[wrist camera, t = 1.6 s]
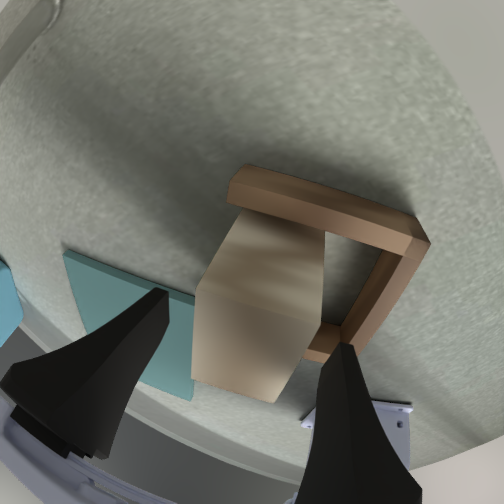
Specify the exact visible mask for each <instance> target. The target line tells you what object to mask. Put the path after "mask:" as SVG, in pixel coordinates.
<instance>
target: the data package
mask: <svg viewBox="0 0 504 504" xmlns="http://www.w3.org/2000/svg"><path fill="white" fill-rule="evenodd" d="M22 319H23V309H22V307H21V304H20V301H19V297H18V294H17V291H16V288H15V284H14V281H13V277H12V274H11V270H10V269H9V268H8V267H7V266H6V265H5V264H4V263H3V262H2V261H1V260H0V347H1V346H2V345H3V343H4V342H5V341H6V340H7V339H8V337H9V336H10V335H11V334H12V332H13V331H14V330H15V329H16V328H17V326H18V325H19V324H20V323H21V321H22Z"/></svg>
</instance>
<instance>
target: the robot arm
mask: <svg viewBox="0 0 504 504" xmlns="http://www.w3.org/2000/svg"><path fill="white" fill-rule="evenodd" d="M169 323H170V316H169V291H166V290H164V289H161V288H158V287H154V288H153V289H152V290H150V291H149V292H148V293H147V294H145V295H144V296H143V297H141V298H140V299H139V300H138V301H136V302H135V303H134V304H132V305H131V306H130V307H128V308H127V309H126V310H124V311H123V312H121V313H120V314H119V315H117V316H116V317H115V318H113V319H112V320H110V321H109V322H107V323H106V324H104V325H103V326H101V327H99V328H98V329H96V330H95V331H93V332H91V333H90V334H88V335H86V336H84V337H82V338H81V339H79V340H77V341H75V342H73V343H71V344H69V345H67V346H64V347H62V348H60V349H58V350H55V351H52V352H50V353H47V354H45V355H42V356H39V357H36V358H33V359H29V360H26V361H22V362H18V363H14V364H13V365H12V366H11V367H10V369H9V370H8V372H7V373H6V374H5V376H4V377H3V379H2V380H1V382H0V388H1V389H2V390H3V391H4V392H5V393H6V394H7V395H8V396H9V397H10V398H11V399H12V400H13V401H14V402H15V403H16V404H17V405H16V407H15V408H14V407H12V406H11V405H10V404H9V403H8V402H7V401H6V400H5V399H4V398H3V397H2V396H1V395H0V460H1V461H2V462H3V463H4V465H5V466H6V467H7V468H8V469H9V470H10V471H11V472H12V473H13V474H14V475H15V476H16V477H17V478H18V479H19V481H21V482H22V483H23V484H24V485H25V486H26V487H27V488H28V489H29V490H30V491H31V492H32V493H33V494H34V495H35V496H36V497H38V498H39V499H40V500H41V501H42V502H43V503H44V504H128V502H126V501H125V500H123V499H121V498H119V497H117V496H115V495H113V494H111V493H110V492H107V491H105V490H103V489H101V488H99V487H96V486H95V484H94V481H96V482H97V483H99V484H101V485H103V486H105V487H107V488H108V489H110V490H112V491H114V492H116V493H119V494H120V495H122V496H124V497H127V498H129V499H131V500H133V501H135V502H138V503H140V504H178V503H175V502H172V501H169V500H167V499H164V498H161V497H159V496H156V495H154V494H151V493H149V492H146V491H144V490H142V489H140V488H137V487H135V486H133V485H131V484H129V483H126V482H124V481H122V480H120V479H118V478H116V477H114V476H112V475H110V474H108V473H107V472H105V471H103V470H101V469H99V468H97V467H96V466H94V465H92V464H90V463H89V462H87V461H85V460H84V459H83V458H84V456H85V455H86V456H87V457H89V458H92V457H93V455H94V456H95V457H97V458H99V459H101V460H102V459H106V458H108V457H109V454H110V450H111V446H112V444H113V440H114V437H115V434H116V431H117V429H118V426H119V423H120V420H121V418H122V415H123V413H124V410H125V408H126V405H127V403H128V401H129V398H130V396H131V394H132V392H133V389H134V387H135V385H136V384H137V382H138V380H139V378H140V377H141V375H142V373H143V372H144V370H145V368H146V367H147V365H148V363H149V362H150V360H151V358H152V357H153V355H154V353H155V352H156V350H157V348H158V347H159V345H160V343H161V341H162V339H163V337H164V335H165V332H166V330H167V328H168V325H169ZM412 410H413V406H412V405H403V404H395V403H387V402H379V401H372V400H371V398H370V395H369V392H368V389H367V387H366V384H365V381H364V378H363V375H362V371H361V368H360V365H359V362H358V358H357V355H356V352H355V348H354V346H353V345H352V344H347V343H343V342H339V343H338V345H337V346H336V348H335V349H334V351H333V352H332V354H331V355H330V356H329V358H328V359H327V361H326V362H325V364H324V365H323V366H322V368H321V373H320V378H319V383H318V389H317V400H316V407H315V408H314V409H313V410H312V412H311V413H310V414H309V415H308V416H307V417H306V418H305V419H304V420H303V421H302V422H301V426H302V427H305V428H311V429H312V433H311V440H310V446H309V452H308V458H307V464H306V469H305V473H304V476H303V480H302V483H301V486H300V489H299V492H295V493H294V497H293V498H291V499H289V500H287V501H286V502H285V503H284V504H422V488H421V487H420V486H419V484H418V483H417V482H416V481H415V479H414V478H413V477H412V476H411V474H410V473H409V472H408V471H409V466H410V429H409V413H410V412H411V411H412ZM93 480H94V481H93Z"/></svg>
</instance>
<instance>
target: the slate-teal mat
mask: <svg viewBox="0 0 504 504" xmlns="http://www.w3.org/2000/svg"><path fill="white" fill-rule="evenodd" d="M63 259H64V263H65V267H66V270H67V274H68V278H69V281H70V284H71V288H72V291H73V294H74V297H75V300H76V304H77V307H78V309H79V312H80V315H81V318H82V321H83V324H84V326H85V329H86V332H87V334H90V333H91V332H93V331H95V330H96V329H98V328H99V327H101V326H103V325H104V324H106V323H107V322H109V321H110V320H112V319H113V318H115V317H116V316H117V315H119V314H120V313H121V312H123V311H124V310H126V309H127V308H128V307H130V306H131V305H132V304H134V303H135V302H136V301H138V300H139V299H140V298H141V297H143V296H144V295H145V294H147V293H148V292H149V291H150V290H152V289H153V288H154V287H158V288H161V289H164V290H166V291H169V316H170V323H169V325H168V328H167V330H166V332H165V335H164V337H163V339H162V341H161V343H160V345H159V347H158V348H157V350H156V352H155V353H154V355H153V357H152V358H151V360H150V362H149V363H148V365H147V367H146V368H145V370H144V372H143V373H142V375H141V377H140V378H139V380H138V381H141V382H143V383H145V384H147V385H150V386H152V387H155V388H157V389H159V390H162V391H164V392H167V393H169V394H172V395H174V396H177V397H180V398H182V399H185V400H188V401H191V399H192V397H193V385H194V379H191V366H192V343H193V325H194V309H195V297H193V296H190V295H187V294H184V293H181V292H178V291H175V290H173V289H170V288H167V287H164V286H161V285H158V284H156V283H153V282H150V281H147V280H145V279H142V278H139V277H136V276H134V275H131V274H128V273H126V272H123V271H120V270H118V269H115V268H113V267H110V266H108V265H105V264H102V263H100V262H97V261H95V260H92V259H90V258H88V257H85V256H83V255H80V254H78V253H75V252H73V251H71V250H67V251H66V252H65V253H64V254H63Z"/></svg>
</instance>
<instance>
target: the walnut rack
mask: <svg viewBox="0 0 504 504" xmlns="http://www.w3.org/2000/svg"><path fill="white" fill-rule="evenodd" d="M226 203H229V204H233V205H237V206H240V207H244V208H248V209H251V210H255V211H259V212H262V213H266V214H269V215H273V216H276V217H280V218H283V219H287V220H290V221H294V222H297V223H301V224H304V225H307V226H311V227H314V228H317V229H321V230H324V231H327V232H331V233H334V234H337V235H340V236H344V237H347V238H350V239H353V240H356V241H359V242H363V243H366V244H369V245H372V246H375V247H378V248H381V249H383V250H382V252H381V254H380V256H379V258H378V260H377V262H376V264H375V266H374V268H373V270H372V272H371V274H370V276H369V277H368V279H367V281H366V283H365V285H364V287H363V289H362V290H361V292H360V294H359V296H358V297H357V299H356V301H355V303H354V304H353V306H352V308H351V310H350V311H349V313H348V315H347V316H346V318H345V320H344V321H343V323H342V325H341V326H337V325H333V324H329V323H325V322H322V321H321V325H320V327H319V329H318V330H317V332H316V334H315V336H314V338H313V339H312V341H311V343H310V345H309V346H308V348H307V350H306V352H305V353H304V355H303V357H302V358H304V359H308V360H312V361H316V362H320V363H325V362H326V361H327V359H328V358H329V356H330V355H331V354H332V352H333V351H334V349H335V348H336V346H337V345H338V343H339V342H343V343H347V344H352V345H353V346H354V348H355V352H356V355H357V356H358V355H359V354H360V352H361V351H362V350H363V349H364V347H365V346H366V345H367V343H368V342H369V341H370V339H371V338H372V337H373V335H374V334H375V332H376V331H377V330H378V328H379V327H380V325H381V324H382V323H383V321H384V320H385V318H386V317H387V315H388V314H389V313H390V311H391V310H392V308H393V307H394V305H395V304H396V302H397V301H398V299H399V297H400V296H401V294H402V293H403V291H404V290H405V288H406V286H407V285H408V283H409V282H410V280H411V278H412V277H413V275H414V273H415V272H416V270H417V268H418V267H419V265H420V263H421V261H422V260H423V258H424V256H425V254H426V252H427V251H428V249H429V247H430V245H431V243H430V241H429V239H428V237H427V235H426V233H425V232H424V230H423V228H422V226H421V224H420V222H419V221H418V219H417V218H416V217H413V216H410V215H408V214H405V213H403V212H400V211H397V210H395V209H392V208H389V207H386V206H384V205H381V204H378V203H375V202H372V201H370V200H367V199H364V198H361V197H358V196H355V195H352V194H349V193H346V192H343V191H340V190H336V189H333V188H330V187H327V186H324V185H320V184H317V183H314V182H310V181H307V180H304V179H300V178H297V177H293V176H290V175H286V174H282V173H279V172H275V171H271V170H267V169H263V168H260V167H256V166H252V165H248V164H244V165H243V167H242V168H241V169H240V170H239V171H238V172H237V173H236V174H235V175H234V177H233V178H232V179H231V180H230V181H229V188H228V194H227V200H226Z"/></svg>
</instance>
